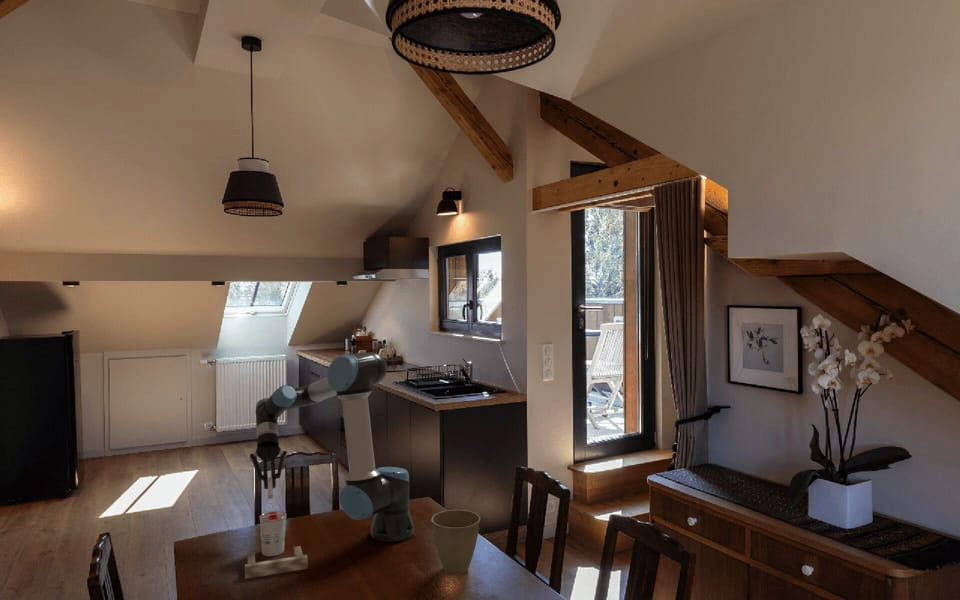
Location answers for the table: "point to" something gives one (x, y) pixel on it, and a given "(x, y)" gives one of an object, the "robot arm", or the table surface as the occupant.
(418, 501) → the table surface
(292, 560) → the cream wooden u-shaped piece
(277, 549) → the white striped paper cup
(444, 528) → the plant pot
